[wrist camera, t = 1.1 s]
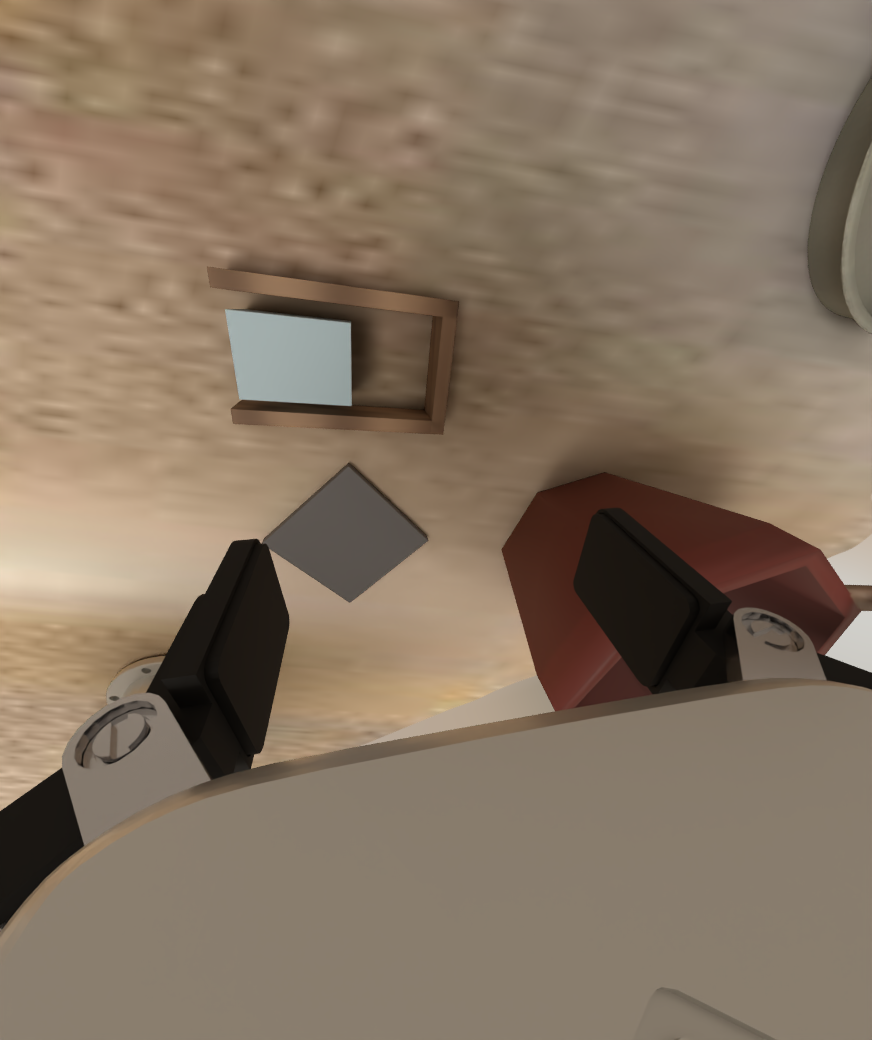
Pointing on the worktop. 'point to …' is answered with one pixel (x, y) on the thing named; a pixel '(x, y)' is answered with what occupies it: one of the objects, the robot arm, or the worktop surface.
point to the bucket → (688, 533)
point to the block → (291, 357)
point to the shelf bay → (353, 415)
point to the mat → (346, 535)
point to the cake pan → (846, 221)
